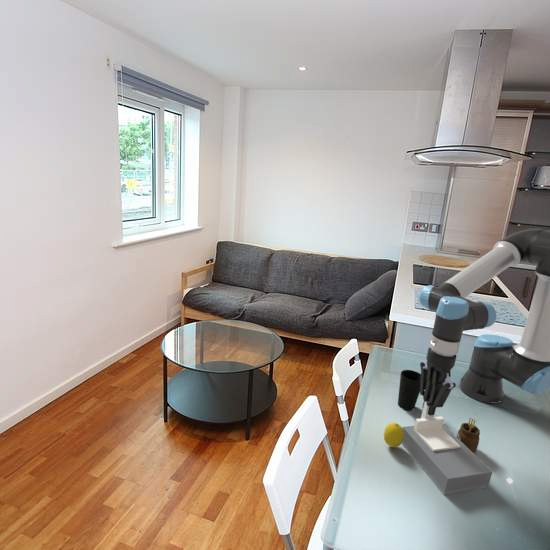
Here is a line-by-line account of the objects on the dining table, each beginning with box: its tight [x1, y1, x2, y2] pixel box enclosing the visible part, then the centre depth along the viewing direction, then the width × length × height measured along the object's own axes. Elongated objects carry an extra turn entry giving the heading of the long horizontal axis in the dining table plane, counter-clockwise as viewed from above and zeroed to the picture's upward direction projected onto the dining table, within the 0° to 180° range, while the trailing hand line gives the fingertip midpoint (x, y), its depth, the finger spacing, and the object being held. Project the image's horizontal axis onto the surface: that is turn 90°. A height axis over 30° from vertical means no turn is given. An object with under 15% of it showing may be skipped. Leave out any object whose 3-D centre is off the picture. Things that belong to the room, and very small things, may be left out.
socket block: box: [401, 423, 493, 496], centre depth 108 cm, size 14×20×5 cm
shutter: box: [413, 415, 460, 451], centre depth 110 cm, size 9×9×4 cm
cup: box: [397, 369, 421, 412], centre depth 133 cm, size 8×8×12 cm
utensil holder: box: [456, 412, 481, 454], centre depth 114 cm, size 6×6×12 cm
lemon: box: [383, 422, 404, 448], centre depth 112 cm, size 6×6×8 cm
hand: (425, 421), depth 115 cm, fingers closed
